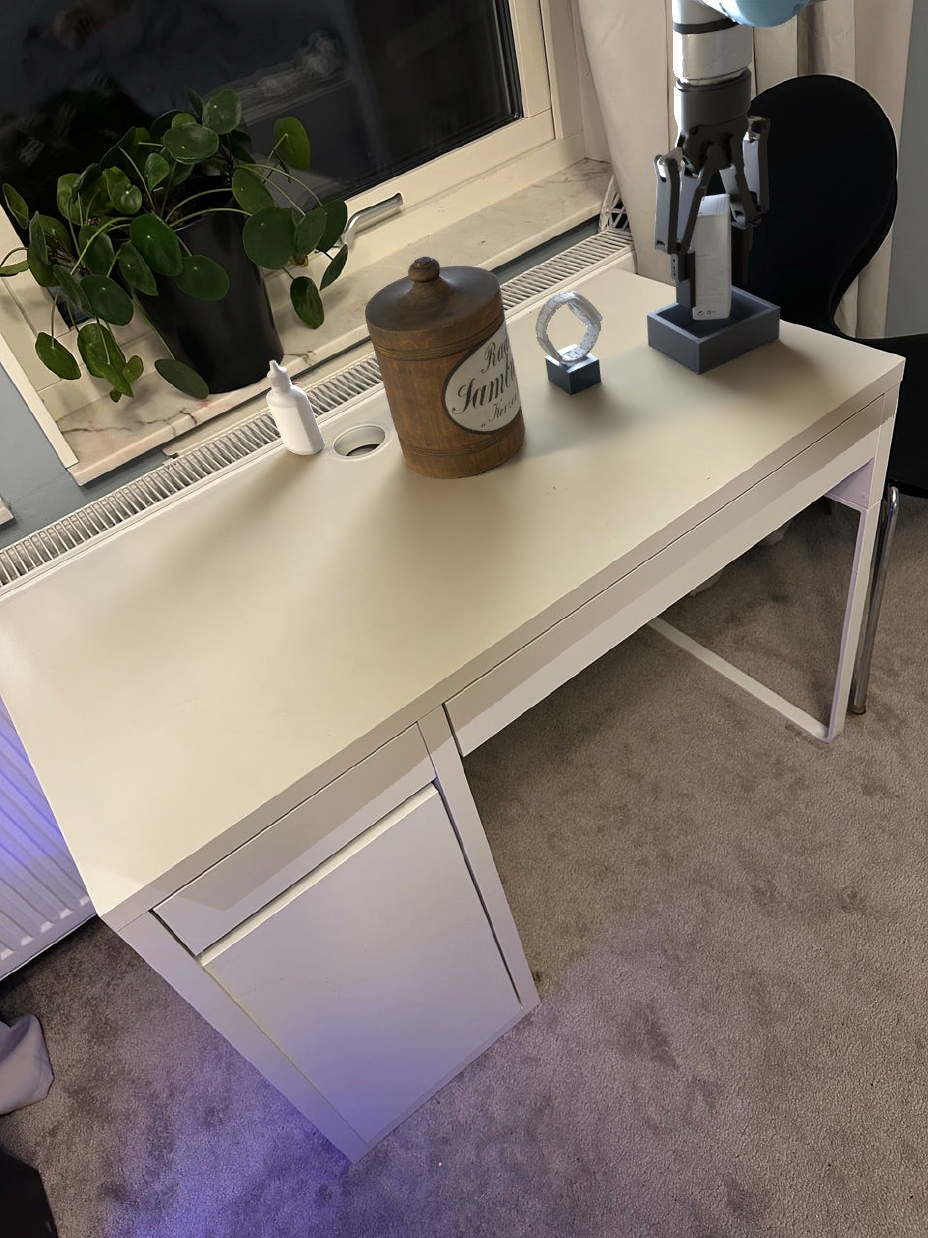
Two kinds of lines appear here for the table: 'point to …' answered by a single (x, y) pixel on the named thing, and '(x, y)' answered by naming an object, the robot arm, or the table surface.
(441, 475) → the wooden container
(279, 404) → the eye dropper bottle
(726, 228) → the cosmetic box
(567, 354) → the watch
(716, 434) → the table surface
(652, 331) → the holder
